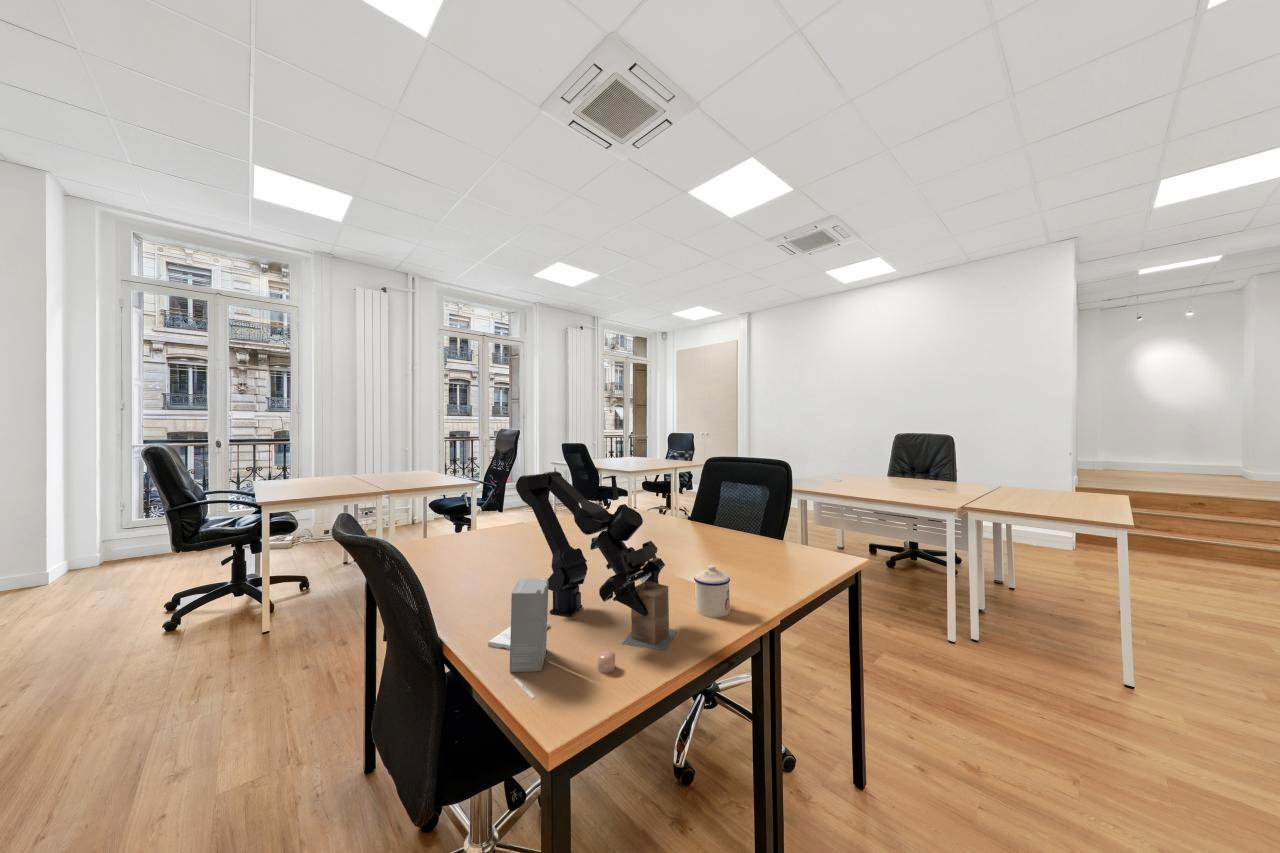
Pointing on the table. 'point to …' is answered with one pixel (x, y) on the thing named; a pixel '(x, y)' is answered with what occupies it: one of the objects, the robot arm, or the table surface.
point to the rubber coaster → (659, 646)
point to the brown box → (651, 614)
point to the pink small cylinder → (606, 662)
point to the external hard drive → (504, 639)
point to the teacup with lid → (712, 593)
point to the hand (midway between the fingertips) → (655, 610)
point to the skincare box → (529, 624)
